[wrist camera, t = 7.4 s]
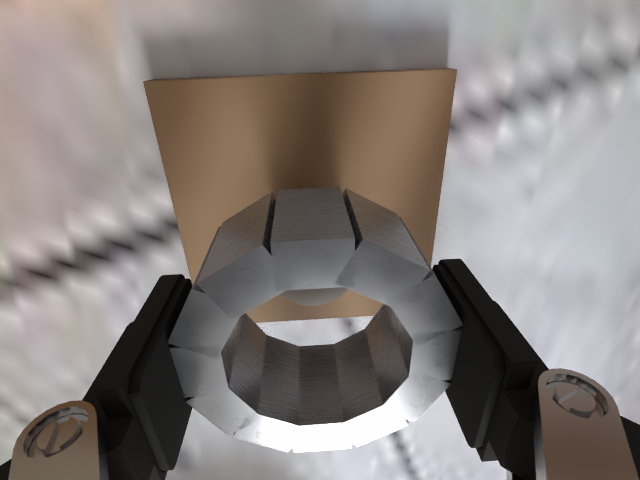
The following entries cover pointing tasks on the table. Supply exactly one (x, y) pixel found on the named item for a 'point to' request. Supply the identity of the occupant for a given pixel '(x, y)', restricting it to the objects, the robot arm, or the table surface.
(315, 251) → the ring
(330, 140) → the brown base with peg
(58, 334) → the table surface
